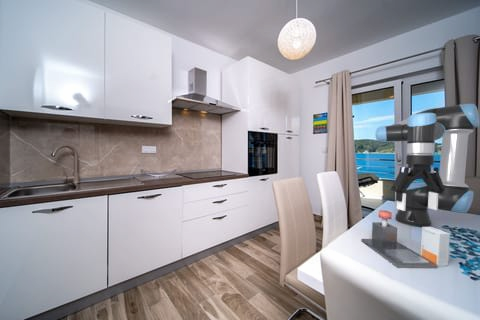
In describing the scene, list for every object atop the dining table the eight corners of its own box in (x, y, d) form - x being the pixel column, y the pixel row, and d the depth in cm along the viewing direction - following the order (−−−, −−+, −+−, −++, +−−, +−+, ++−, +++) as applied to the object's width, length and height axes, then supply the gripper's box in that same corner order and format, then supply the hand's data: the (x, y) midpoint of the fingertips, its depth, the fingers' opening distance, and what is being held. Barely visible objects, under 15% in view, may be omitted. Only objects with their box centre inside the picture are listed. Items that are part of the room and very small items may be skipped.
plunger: (385, 233, 81) (386, 210, 80) (393, 238, 77) (394, 213, 76) (375, 233, 81) (376, 210, 80) (382, 238, 77) (384, 213, 76)
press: (392, 241, 83) (393, 221, 83) (437, 268, 64) (438, 242, 64) (361, 241, 83) (362, 221, 83) (397, 267, 64) (398, 242, 64)
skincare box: (419, 256, 71) (421, 226, 70) (429, 256, 71) (431, 226, 71) (437, 266, 65) (439, 233, 64) (448, 266, 65) (450, 233, 65)
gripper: (437, 154, 75) (434, 206, 76) (381, 154, 73) (378, 206, 73) (461, 155, 67) (457, 211, 68) (399, 154, 65) (396, 213, 66)
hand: (416, 209), depth 71 cm, fingers open, 13 cm apart
